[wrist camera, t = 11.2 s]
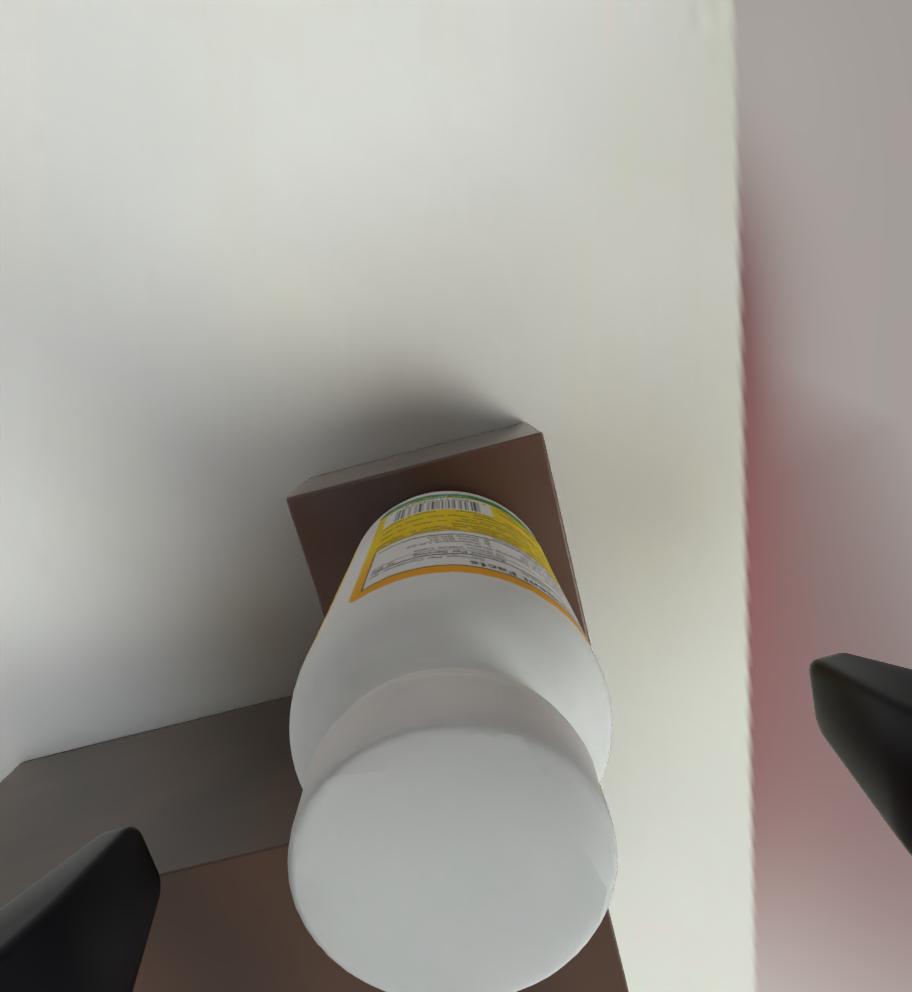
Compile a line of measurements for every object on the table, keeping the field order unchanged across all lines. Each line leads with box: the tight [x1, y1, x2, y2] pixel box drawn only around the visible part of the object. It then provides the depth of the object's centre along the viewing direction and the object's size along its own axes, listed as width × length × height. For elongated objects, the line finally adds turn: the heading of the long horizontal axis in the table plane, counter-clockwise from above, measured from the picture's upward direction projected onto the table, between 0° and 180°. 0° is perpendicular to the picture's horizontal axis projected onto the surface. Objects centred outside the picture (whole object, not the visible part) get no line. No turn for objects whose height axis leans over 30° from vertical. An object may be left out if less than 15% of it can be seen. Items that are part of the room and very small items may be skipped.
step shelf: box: [0, 422, 629, 992], centre depth 17 cm, size 20×17×7 cm
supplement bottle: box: [287, 491, 617, 992], centre depth 12 cm, size 5×5×10 cm
